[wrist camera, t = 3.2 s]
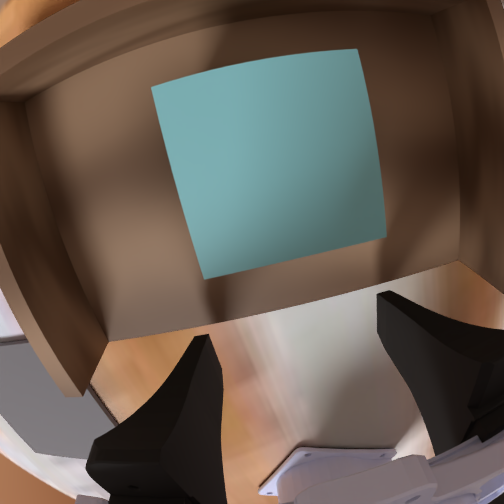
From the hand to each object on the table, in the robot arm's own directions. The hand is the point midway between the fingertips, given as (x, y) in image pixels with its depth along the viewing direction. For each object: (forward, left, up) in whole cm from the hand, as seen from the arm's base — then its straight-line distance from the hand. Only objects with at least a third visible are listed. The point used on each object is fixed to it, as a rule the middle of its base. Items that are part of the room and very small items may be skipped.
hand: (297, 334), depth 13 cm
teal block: (+4, -6, -2) cm, 8 cm away
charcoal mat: (+13, +14, -2) cm, 19 cm away
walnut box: (+4, -6, -2) cm, 7 cm away
